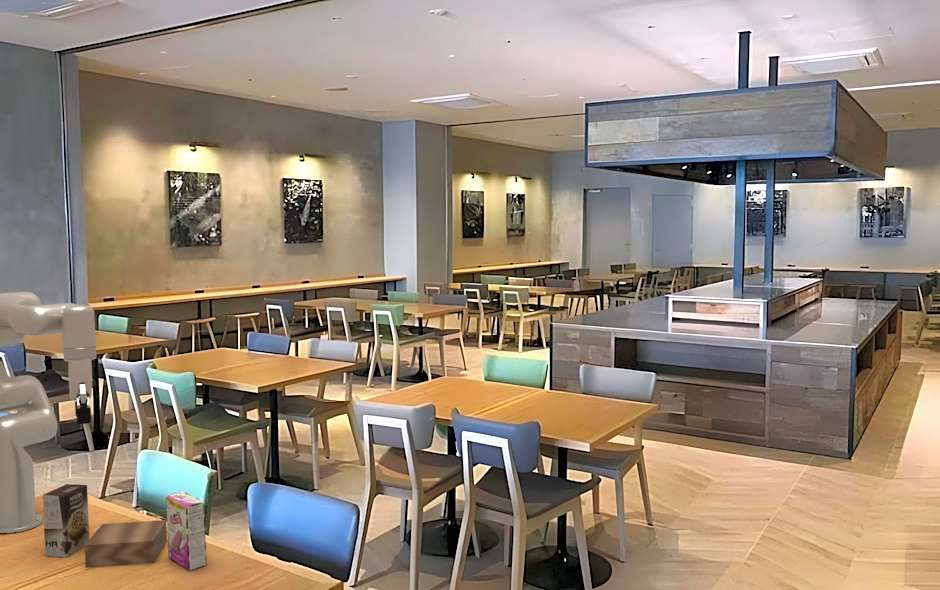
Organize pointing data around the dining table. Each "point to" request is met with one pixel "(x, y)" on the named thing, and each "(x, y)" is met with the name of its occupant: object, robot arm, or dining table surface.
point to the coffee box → (65, 520)
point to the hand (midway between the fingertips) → (83, 419)
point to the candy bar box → (186, 530)
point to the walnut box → (126, 543)
